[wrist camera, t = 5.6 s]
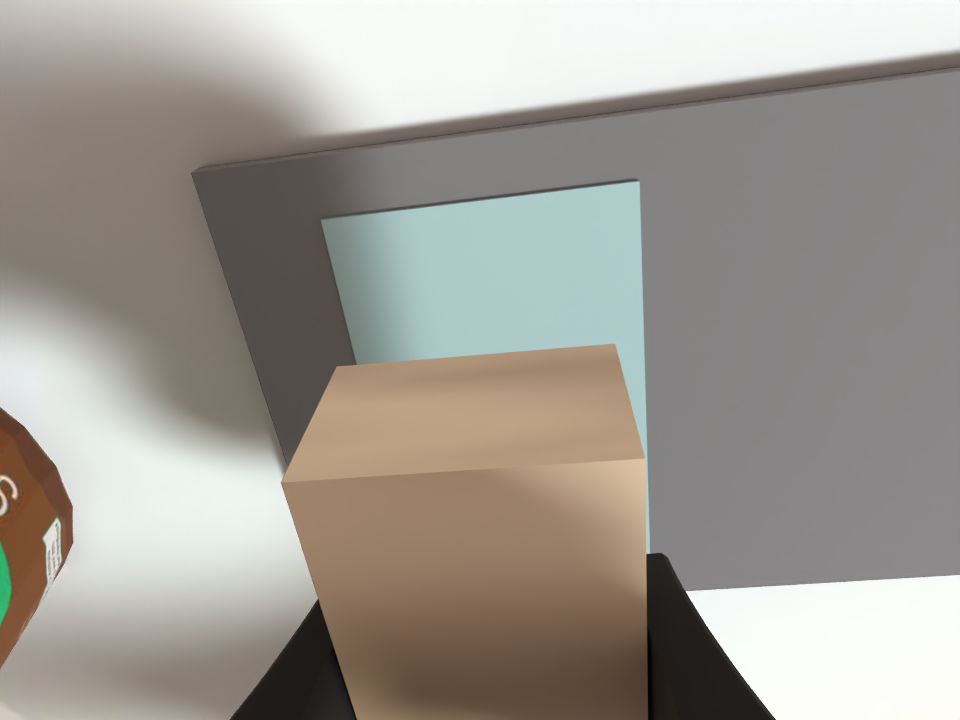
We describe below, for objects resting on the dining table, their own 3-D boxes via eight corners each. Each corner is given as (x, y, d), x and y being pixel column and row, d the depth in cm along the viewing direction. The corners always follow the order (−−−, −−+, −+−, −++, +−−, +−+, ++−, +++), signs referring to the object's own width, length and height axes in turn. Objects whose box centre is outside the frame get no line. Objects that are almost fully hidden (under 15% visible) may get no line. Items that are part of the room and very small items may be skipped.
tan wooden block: (627, 710, 15) (649, 863, 12) (423, 715, 16) (404, 865, 13) (615, 343, 11) (645, 458, 8) (336, 366, 11) (280, 481, 9)
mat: (338, 599, 23) (334, 614, 22) (200, 167, 16) (189, 173, 16) (1144, 550, 20) (1161, 565, 19) (1367, 12, 13) (1402, 13, 13)
